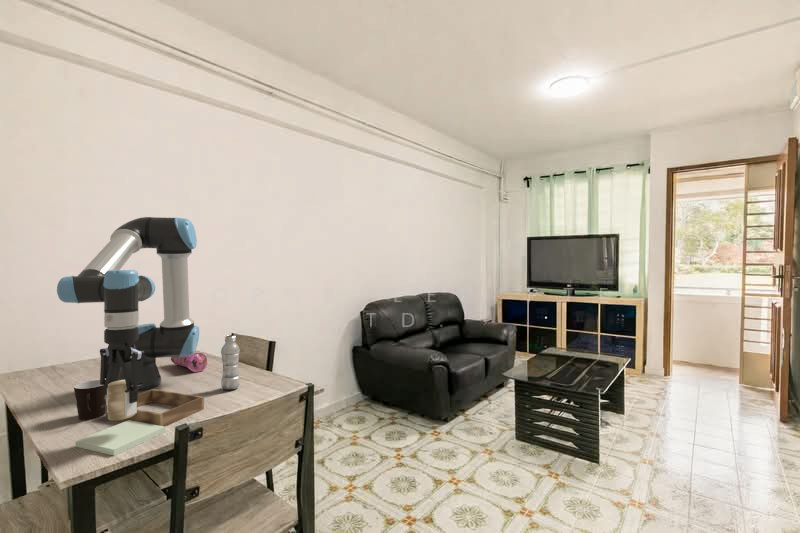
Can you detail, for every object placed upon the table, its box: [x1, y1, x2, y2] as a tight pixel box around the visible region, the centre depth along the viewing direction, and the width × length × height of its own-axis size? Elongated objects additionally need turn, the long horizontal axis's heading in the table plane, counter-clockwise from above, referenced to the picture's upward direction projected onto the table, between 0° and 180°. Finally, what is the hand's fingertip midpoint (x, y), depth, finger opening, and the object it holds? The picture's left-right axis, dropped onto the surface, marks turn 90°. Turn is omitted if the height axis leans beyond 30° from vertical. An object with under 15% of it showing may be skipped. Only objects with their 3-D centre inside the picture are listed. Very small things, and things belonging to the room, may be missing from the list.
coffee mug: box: [73, 379, 107, 421], centre depth 118 cm, size 12×9×10 cm
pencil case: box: [170, 351, 208, 373], centre depth 173 cm, size 21×9×9 cm, turn 50°
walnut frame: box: [104, 388, 205, 428], centre depth 122 cm, size 23×16×4 cm
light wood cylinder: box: [107, 380, 135, 421], centre depth 104 cm, size 6×6×9 cm
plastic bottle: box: [220, 334, 241, 391], centre depth 145 cm, size 6×7×20 cm
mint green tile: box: [75, 420, 166, 456], centre depth 104 cm, size 14×14×2 cm
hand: (121, 412), depth 104 cm, fingers closed on light wood cylinder, 6 cm apart
